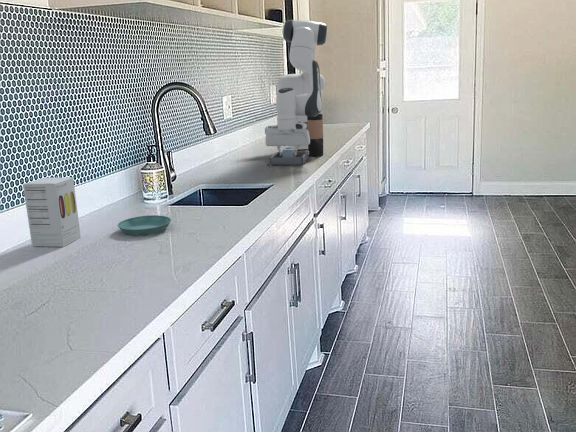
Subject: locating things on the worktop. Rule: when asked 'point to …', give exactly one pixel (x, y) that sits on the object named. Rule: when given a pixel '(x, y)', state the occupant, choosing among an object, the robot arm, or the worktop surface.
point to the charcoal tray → (289, 159)
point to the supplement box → (52, 211)
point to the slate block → (288, 153)
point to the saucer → (144, 225)
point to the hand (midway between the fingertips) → (288, 155)
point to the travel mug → (315, 135)
